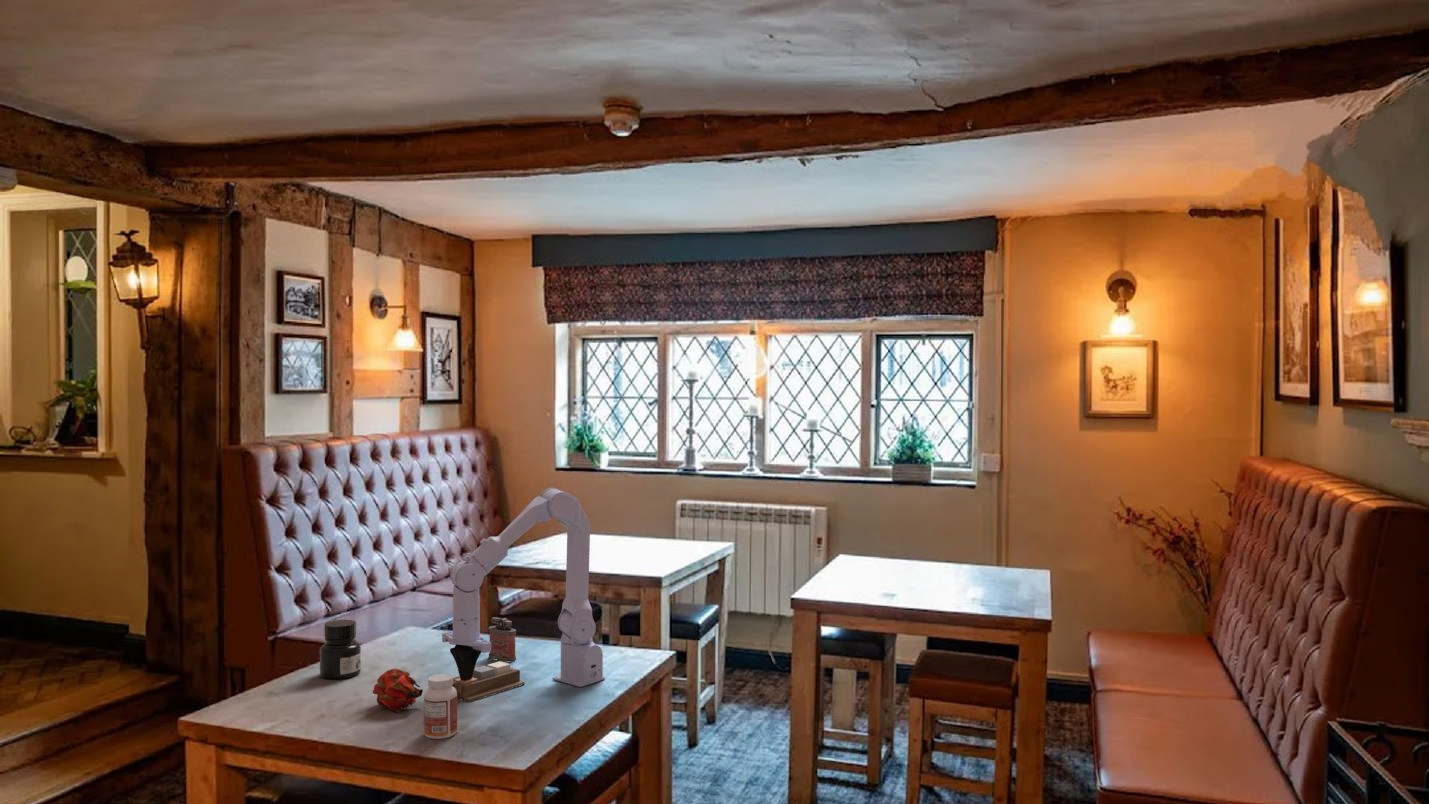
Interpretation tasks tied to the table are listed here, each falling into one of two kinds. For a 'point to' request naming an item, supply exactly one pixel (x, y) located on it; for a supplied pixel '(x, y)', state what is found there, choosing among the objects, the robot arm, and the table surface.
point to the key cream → (500, 667)
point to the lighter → (502, 640)
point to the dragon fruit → (396, 689)
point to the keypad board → (487, 685)
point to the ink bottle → (340, 651)
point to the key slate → (483, 672)
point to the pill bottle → (440, 707)
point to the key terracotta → (466, 680)
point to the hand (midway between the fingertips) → (466, 679)
